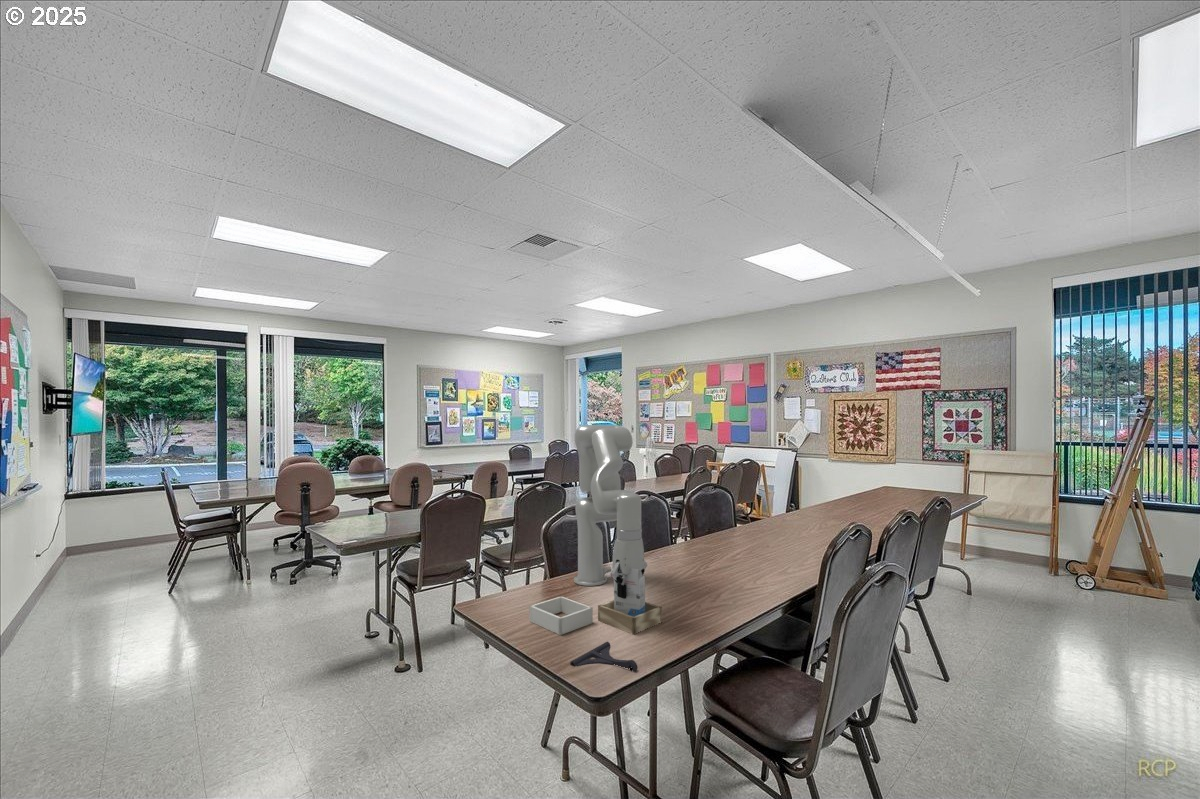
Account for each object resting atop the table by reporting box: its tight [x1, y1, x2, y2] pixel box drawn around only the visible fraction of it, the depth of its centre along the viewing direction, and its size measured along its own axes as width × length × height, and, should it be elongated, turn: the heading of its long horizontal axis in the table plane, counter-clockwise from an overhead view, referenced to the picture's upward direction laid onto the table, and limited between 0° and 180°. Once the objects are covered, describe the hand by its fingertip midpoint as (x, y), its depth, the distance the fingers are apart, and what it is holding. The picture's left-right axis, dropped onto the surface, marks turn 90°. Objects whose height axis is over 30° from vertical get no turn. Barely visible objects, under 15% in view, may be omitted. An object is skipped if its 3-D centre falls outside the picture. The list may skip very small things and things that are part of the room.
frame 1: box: [528, 595, 594, 636], centre depth 153 cm, size 13×15×4 cm
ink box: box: [613, 568, 646, 617], centre depth 154 cm, size 9×5×15 cm, turn 62°
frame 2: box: [597, 599, 663, 635], centre depth 153 cm, size 13×15×4 cm
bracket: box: [569, 641, 638, 672], centre depth 127 cm, size 14×15×3 cm
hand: (629, 594), depth 154 cm, fingers closed on ink box, 6 cm apart
